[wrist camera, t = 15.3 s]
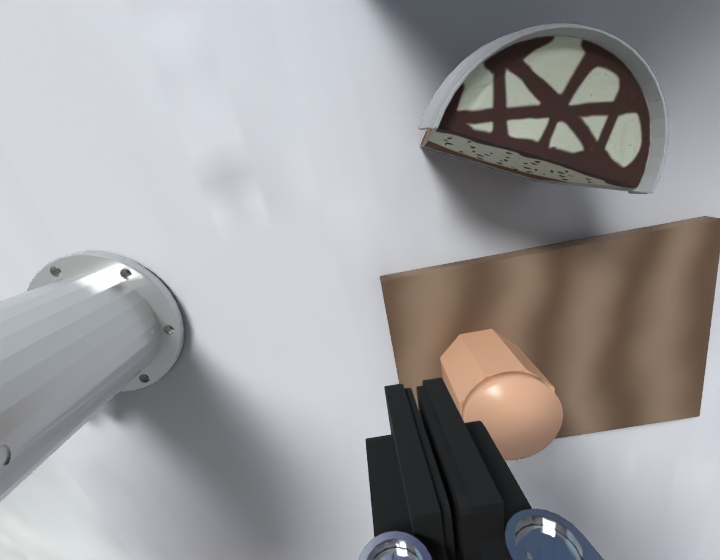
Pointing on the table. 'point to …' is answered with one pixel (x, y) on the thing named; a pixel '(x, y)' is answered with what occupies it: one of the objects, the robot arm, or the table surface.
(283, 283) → the table surface
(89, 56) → the table surface
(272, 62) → the table surface
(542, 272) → the board
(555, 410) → the cap
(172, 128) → the table surface
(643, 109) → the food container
